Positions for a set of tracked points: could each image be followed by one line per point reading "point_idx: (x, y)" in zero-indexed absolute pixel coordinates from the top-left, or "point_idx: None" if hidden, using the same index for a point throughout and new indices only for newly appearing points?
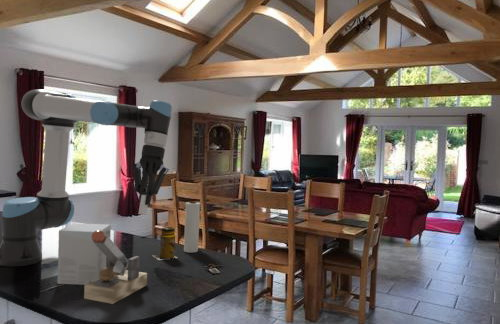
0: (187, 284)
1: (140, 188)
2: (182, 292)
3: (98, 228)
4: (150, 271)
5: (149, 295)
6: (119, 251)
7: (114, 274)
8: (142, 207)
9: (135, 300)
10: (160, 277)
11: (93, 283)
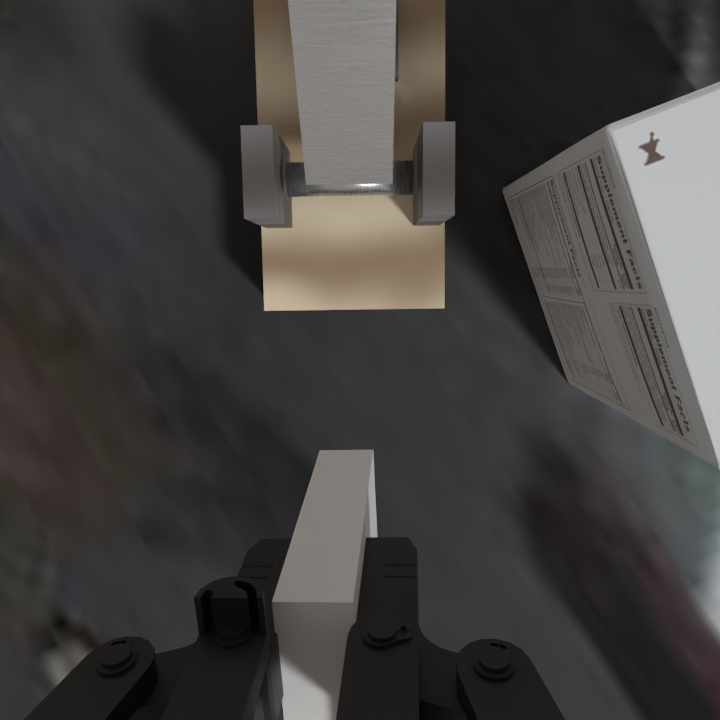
0: (96, 412)
1: (406, 700)
2: (56, 293)
3: (707, 247)
4: (385, 514)
5: (176, 181)
6: (291, 30)
7: (413, 199)
8: (321, 492)
9: (197, 88)
10: (281, 448)
11: (419, 6)
